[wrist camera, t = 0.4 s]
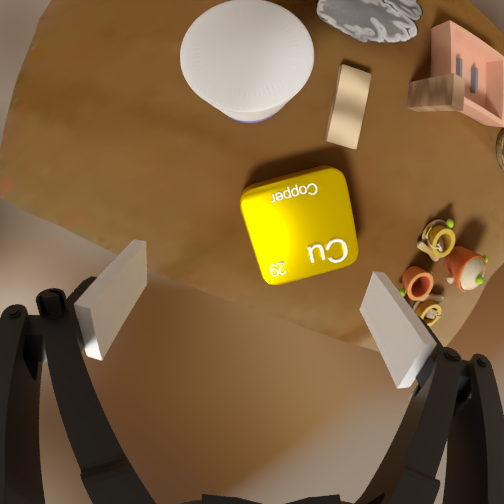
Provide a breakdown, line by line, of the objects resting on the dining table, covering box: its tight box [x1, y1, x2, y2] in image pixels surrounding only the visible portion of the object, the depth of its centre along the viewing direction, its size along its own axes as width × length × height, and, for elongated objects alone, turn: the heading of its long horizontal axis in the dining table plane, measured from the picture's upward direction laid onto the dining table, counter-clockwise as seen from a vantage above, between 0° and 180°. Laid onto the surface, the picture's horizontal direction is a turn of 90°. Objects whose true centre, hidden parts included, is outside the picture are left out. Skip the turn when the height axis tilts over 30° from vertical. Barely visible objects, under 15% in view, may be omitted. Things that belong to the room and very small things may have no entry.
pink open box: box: [430, 20, 504, 127], centre depth 29 cm, size 14×14×6 cm
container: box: [180, 0, 314, 123], centre depth 26 cm, size 10×10×20 cm
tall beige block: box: [407, 73, 465, 112], centre depth 29 cm, size 4×2×12 cm, turn 173°
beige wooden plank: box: [324, 64, 371, 149], centre depth 35 cm, size 12×4×2 cm, turn 169°
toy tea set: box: [398, 219, 488, 326], centre depth 43 cm, size 26×16×10 cm, turn 157°
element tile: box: [240, 165, 359, 285], centre depth 41 cm, size 15×15×5 cm
